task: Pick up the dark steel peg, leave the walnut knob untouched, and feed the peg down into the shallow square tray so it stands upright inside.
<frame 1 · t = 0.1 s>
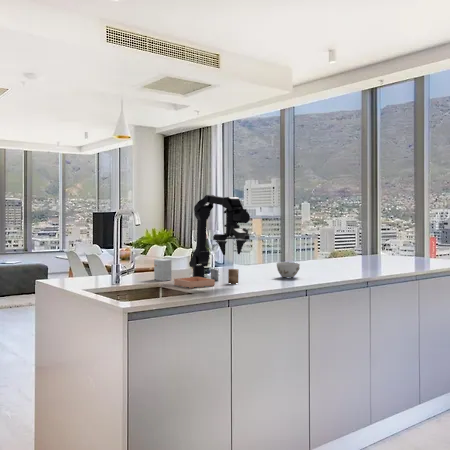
hand: (231, 254, 253), 15 cm above the counter, tool pointing down, fingers open, 9 cm apart
walnut knob: (233, 283, 257), on the counter
shallow square tray: (194, 285, 249), on the counter
teacup: (289, 277, 282), on the counter
small box: (162, 280, 268), on the counter
steel peg: (214, 280, 266), on the counter
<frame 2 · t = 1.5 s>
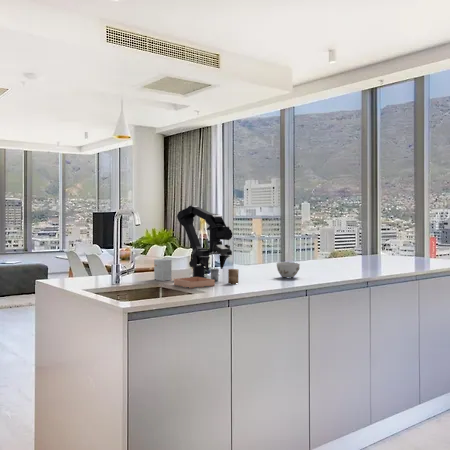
hand: (214, 269, 266), 6 cm above the counter, tool pointing down, fingers open, 9 cm apart
nothing on the counter moved.
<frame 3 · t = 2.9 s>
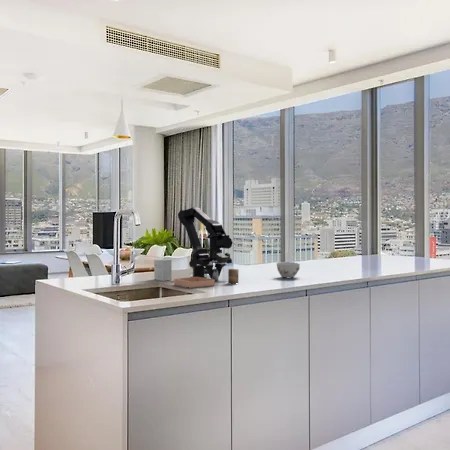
hand: (214, 277, 266), 2 cm above the counter, tool pointing down, fingers closed on steel peg, 4 cm apart
steel peg: (214, 280, 266), on the counter, touching gripper
everything else where it was.
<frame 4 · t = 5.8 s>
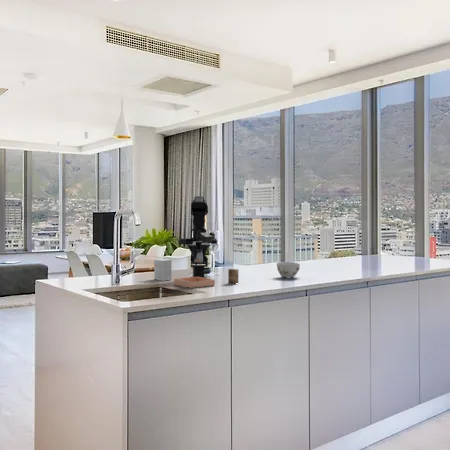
hand: (198, 259, 251), 12 cm above the counter, tool pointing down, fingers closed on steel peg, 4 cm apart
steel peg: (198, 262, 251), point 11 cm above the counter, touching gripper
everything else where it was.
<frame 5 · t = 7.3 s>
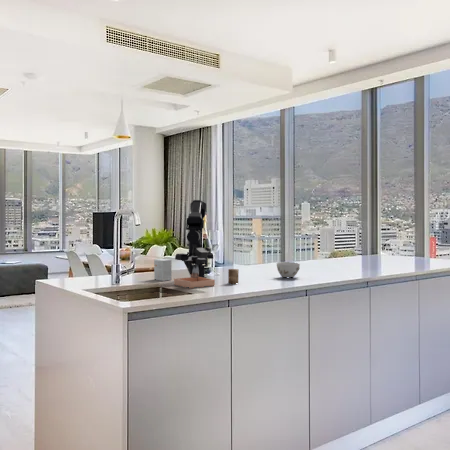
hand: (194, 274, 249), 5 cm above the counter, tool pointing down, fingers closed on steel peg, 4 cm apart
steel peg: (194, 277, 248), point 4 cm above the counter, touching gripper
everything else where it was.
when the fingers open (3 cm above the counter, at t = 8.4 s): steel peg drops 1 cm, resting on shallow square tray.
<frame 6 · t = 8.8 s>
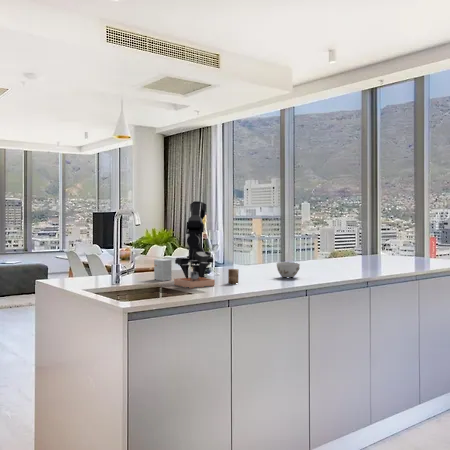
hand: (194, 278, 249), 3 cm above the counter, tool pointing down, fingers open, 8 cm apart
steel peg: (194, 284, 249), point 1 cm above the counter, touching shallow square tray
everything else where it was.
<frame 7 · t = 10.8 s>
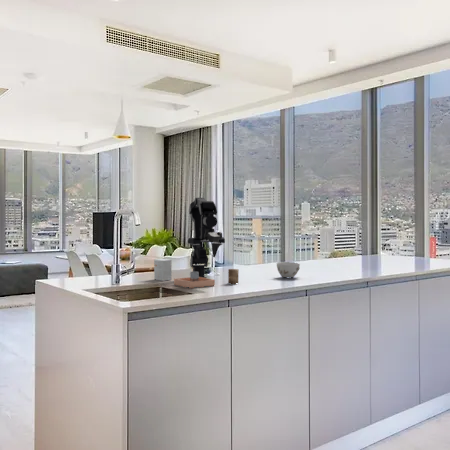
hand: (206, 257, 257), 13 cm above the counter, tool pointing down, fingers open, 9 cm apart
nothing on the counter moved.
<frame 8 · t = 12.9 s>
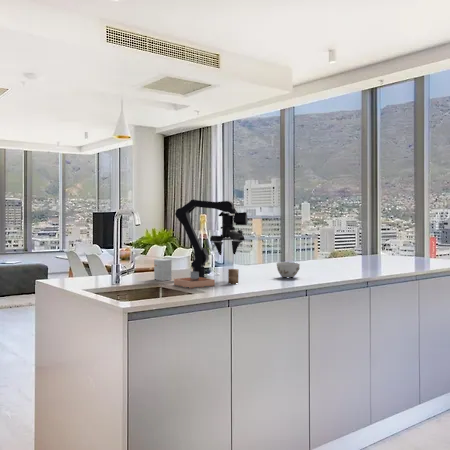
hand: (227, 254, 272), 13 cm above the counter, tool pointing down, fingers open, 9 cm apart
nothing on the counter moved.
at the end: steel peg inside the target area on the shallow square tray (0.1 cm from its centre), point 0.6 cm above the shallow square tray's base; steel peg tilted 2°; walnut knob moved 0.0 cm from its start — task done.
